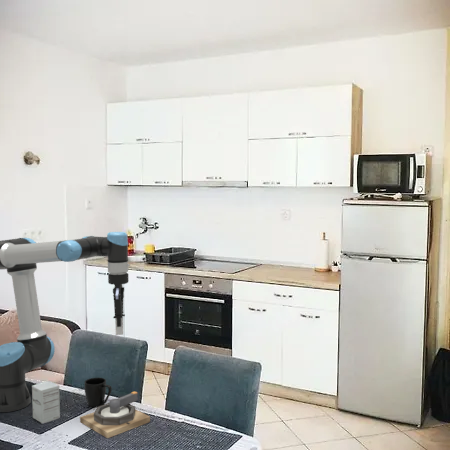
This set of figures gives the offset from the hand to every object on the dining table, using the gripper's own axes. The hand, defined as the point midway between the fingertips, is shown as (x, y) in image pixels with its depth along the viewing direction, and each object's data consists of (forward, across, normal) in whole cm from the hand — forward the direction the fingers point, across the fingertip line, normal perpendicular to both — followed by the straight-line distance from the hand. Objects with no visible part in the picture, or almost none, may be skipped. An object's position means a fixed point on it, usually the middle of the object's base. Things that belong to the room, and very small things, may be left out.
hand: (119, 334), depth 207 cm
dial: (+27, -10, -1) cm, 29 cm away
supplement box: (+30, -6, +27) cm, 40 cm away
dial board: (+29, -11, +1) cm, 32 cm away
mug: (+30, +4, +9) cm, 31 cm away
